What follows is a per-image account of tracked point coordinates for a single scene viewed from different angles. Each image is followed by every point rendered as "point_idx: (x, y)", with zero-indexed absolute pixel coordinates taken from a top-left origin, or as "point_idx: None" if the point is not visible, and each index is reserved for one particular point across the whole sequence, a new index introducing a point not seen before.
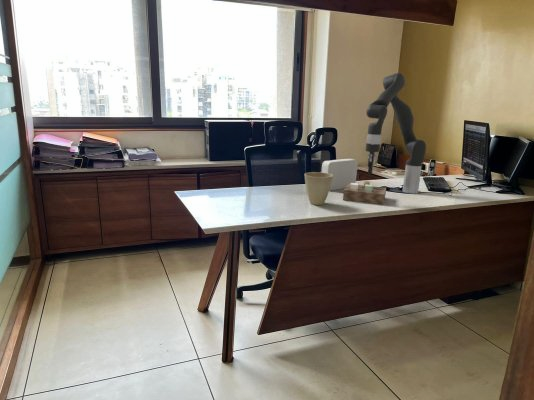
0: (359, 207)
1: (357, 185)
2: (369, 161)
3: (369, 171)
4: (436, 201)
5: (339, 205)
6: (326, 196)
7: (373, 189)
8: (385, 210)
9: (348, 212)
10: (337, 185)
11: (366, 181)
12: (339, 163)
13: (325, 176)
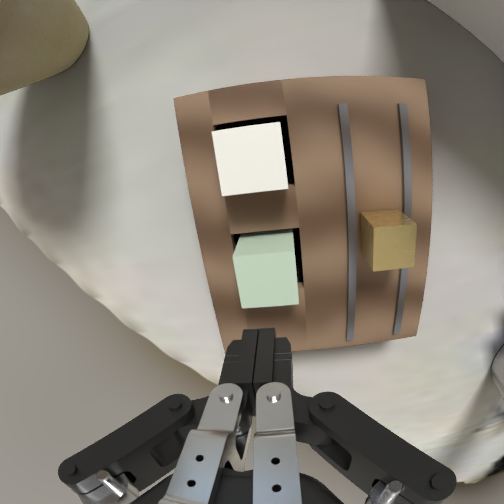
0: (113, 229)
1: (222, 194)
2: (91, 458)
3: (231, 361)
4: (400, 433)
5: (85, 136)
6: (30, 84)
7: (330, 284)
8: (149, 331)
9: (30, 212)
10: (471, 19)
11: (385, 243)
12: None
13: (14, 5)
